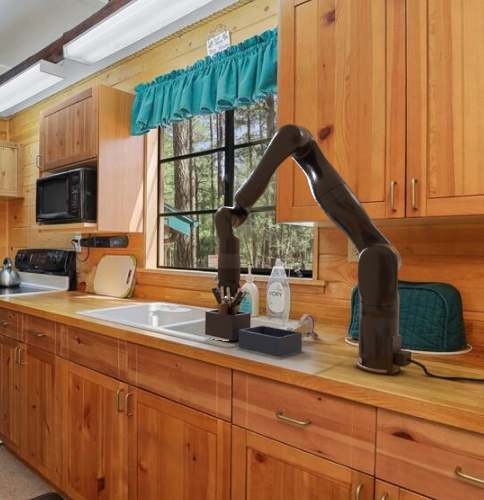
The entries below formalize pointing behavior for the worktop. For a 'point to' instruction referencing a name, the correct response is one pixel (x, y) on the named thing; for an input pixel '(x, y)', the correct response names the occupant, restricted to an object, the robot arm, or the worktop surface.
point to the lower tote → (270, 340)
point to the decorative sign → (305, 327)
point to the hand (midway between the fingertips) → (228, 317)
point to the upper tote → (226, 322)
